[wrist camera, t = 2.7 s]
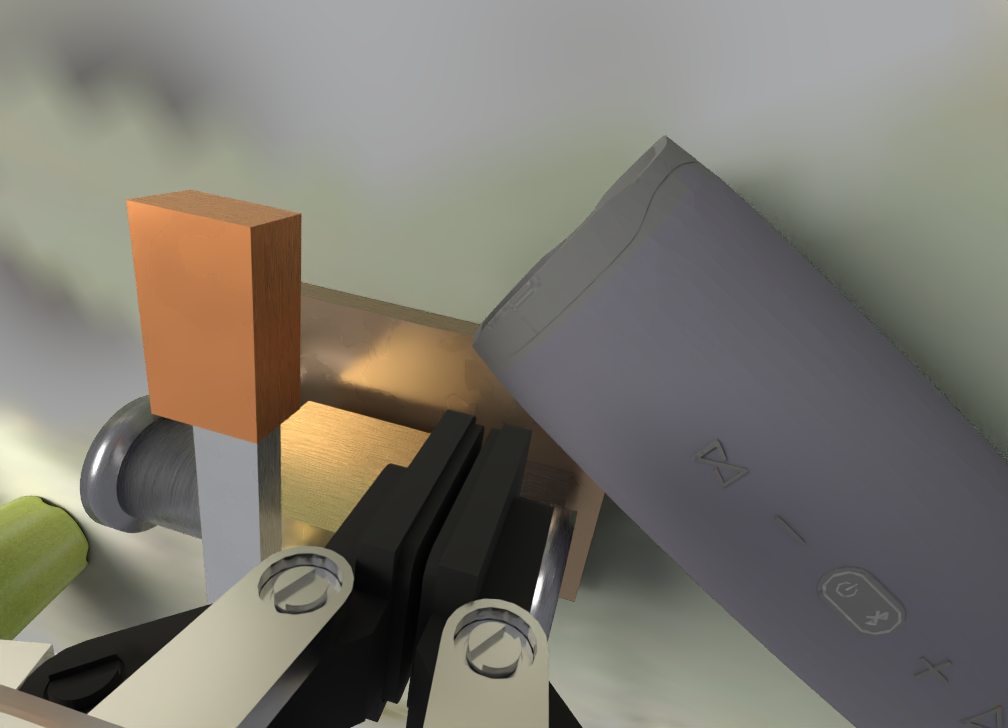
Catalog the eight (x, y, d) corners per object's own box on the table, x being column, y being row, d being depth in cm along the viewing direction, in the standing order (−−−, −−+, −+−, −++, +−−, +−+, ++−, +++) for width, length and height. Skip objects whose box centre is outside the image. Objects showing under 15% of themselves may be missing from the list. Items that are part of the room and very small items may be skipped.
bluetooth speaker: (499, 300, 24) (408, 404, 15) (674, 119, 20) (690, 117, 11) (862, 649, 27) (969, 920, 18) (1084, 548, 23) (1367, 831, 14)
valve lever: (298, 657, 19) (265, 707, 17) (222, 630, 19) (182, 677, 18) (301, 213, 13) (250, 227, 11) (190, 189, 13) (126, 199, 12)
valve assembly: (638, 361, 24) (623, 524, 14) (578, 579, 29) (538, 807, 19) (208, 260, 27) (-39, 338, 18) (221, 472, 32) (34, 624, 23)
